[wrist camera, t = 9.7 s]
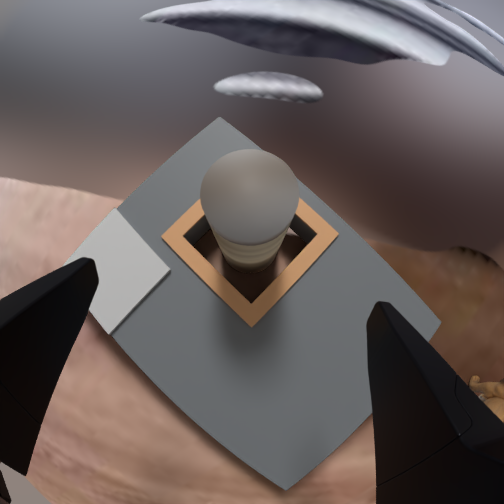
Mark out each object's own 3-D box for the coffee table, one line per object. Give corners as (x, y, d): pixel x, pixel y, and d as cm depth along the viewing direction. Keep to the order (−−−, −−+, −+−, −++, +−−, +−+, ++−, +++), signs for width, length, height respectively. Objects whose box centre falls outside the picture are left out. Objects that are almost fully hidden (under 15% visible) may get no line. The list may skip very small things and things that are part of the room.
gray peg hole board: (420, 322, 21) (443, 322, 17) (281, 471, 18) (286, 492, 15) (222, 137, 23) (219, 114, 20) (82, 275, 21) (60, 269, 18)
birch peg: (287, 257, 22) (317, 211, 12) (238, 283, 21) (227, 258, 11) (260, 210, 22) (268, 135, 12) (212, 234, 22) (184, 174, 12)
